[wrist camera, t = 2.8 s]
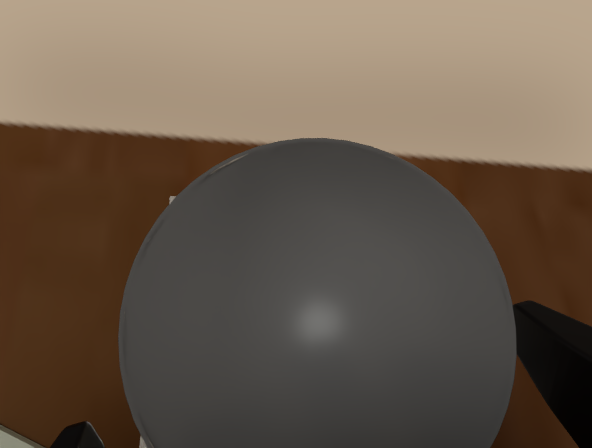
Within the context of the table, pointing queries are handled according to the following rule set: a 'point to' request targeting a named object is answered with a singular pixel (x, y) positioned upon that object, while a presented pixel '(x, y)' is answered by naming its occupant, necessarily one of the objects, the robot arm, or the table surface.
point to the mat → (15, 440)
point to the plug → (317, 309)
